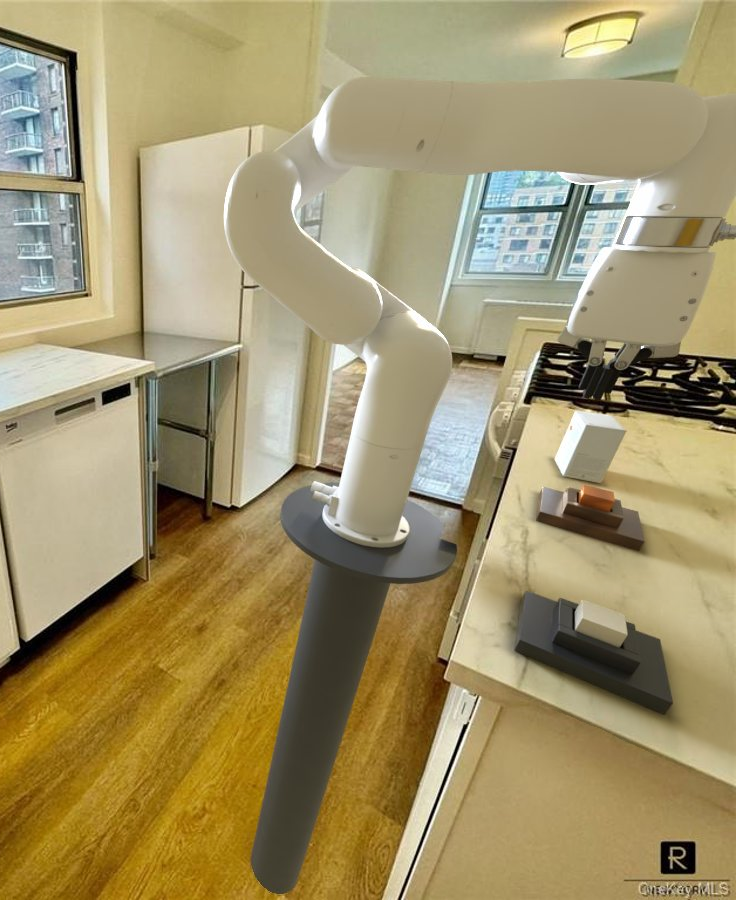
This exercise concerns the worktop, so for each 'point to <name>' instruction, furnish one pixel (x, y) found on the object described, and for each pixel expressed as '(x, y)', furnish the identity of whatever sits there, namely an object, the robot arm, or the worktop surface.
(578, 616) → the key
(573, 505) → the stepped brown stand
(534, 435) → the worktop surface
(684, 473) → the worktop surface
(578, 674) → the stepped grey stand
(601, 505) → the key
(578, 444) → the small box
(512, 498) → the worktop surface
